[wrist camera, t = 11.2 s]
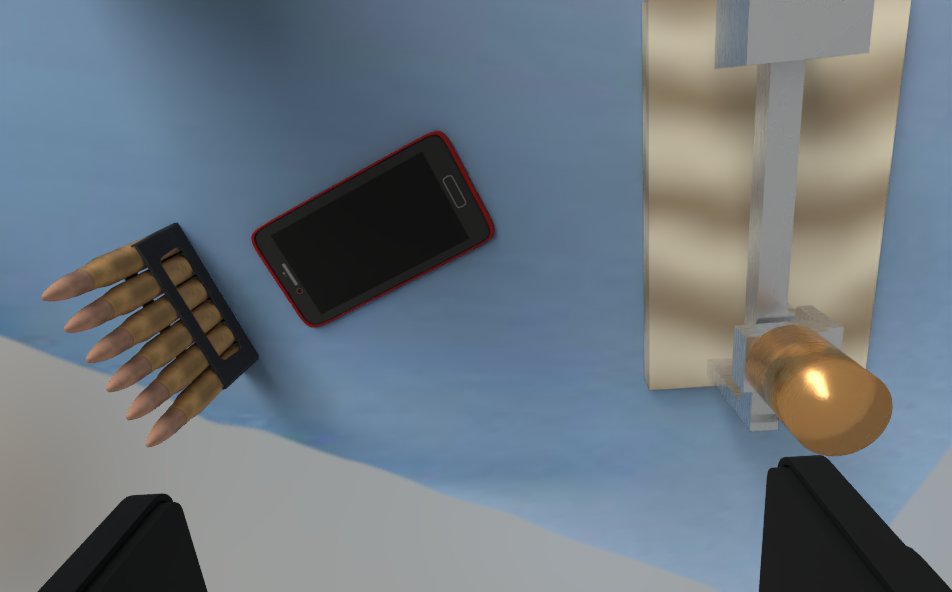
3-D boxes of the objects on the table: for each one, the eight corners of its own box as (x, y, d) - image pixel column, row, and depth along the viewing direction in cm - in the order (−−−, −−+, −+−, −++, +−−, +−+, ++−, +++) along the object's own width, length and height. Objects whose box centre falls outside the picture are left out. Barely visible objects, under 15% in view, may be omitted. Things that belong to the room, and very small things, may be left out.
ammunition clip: (260, 357, 42) (172, 454, 31) (238, 367, 43) (142, 466, 31) (177, 221, 39) (46, 273, 28) (154, 233, 40) (15, 288, 28)
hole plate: (642, 2, 34) (648, -2, 33) (897, -26, 33) (916, -31, 32) (644, 380, 42) (649, 391, 40) (852, 366, 41) (865, 376, 39)
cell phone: (499, 233, 39) (499, 236, 38) (313, 327, 42) (309, 333, 41) (442, 124, 37) (441, 125, 36) (250, 231, 40) (244, 235, 39)
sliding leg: (691, 276, 37) (795, 373, 24) (781, 269, 37) (934, 364, 24) (690, 335, 38) (788, 458, 25) (776, 329, 38) (920, 451, 25)
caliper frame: (685, -6, 33) (751, -41, 24) (796, -18, 32) (904, -58, 24) (680, 374, 40) (729, 451, 31) (770, 368, 39) (845, 444, 31)
